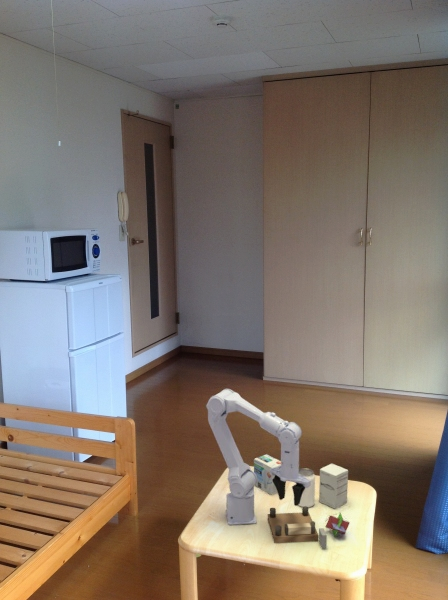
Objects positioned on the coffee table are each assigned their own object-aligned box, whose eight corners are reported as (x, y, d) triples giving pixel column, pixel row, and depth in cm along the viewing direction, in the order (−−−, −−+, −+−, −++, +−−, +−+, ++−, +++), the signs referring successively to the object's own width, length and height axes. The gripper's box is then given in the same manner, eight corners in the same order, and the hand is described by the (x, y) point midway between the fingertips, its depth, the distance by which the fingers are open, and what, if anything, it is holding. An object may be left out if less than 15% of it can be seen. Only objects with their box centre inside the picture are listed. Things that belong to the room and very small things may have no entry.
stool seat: (274, 543, 176) (274, 529, 175) (267, 519, 190) (267, 507, 189) (318, 541, 177) (318, 527, 176) (308, 517, 191) (308, 505, 190)
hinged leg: (285, 535, 176) (285, 525, 176) (284, 531, 178) (284, 521, 178) (315, 533, 177) (315, 524, 176) (314, 529, 179) (314, 520, 179)
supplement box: (318, 502, 201) (318, 468, 199) (331, 495, 206) (331, 462, 204) (335, 510, 196) (335, 475, 194) (347, 502, 200) (348, 469, 199)
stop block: (321, 549, 172) (322, 535, 172) (318, 542, 176) (319, 528, 176) (326, 549, 172) (326, 535, 172) (323, 541, 176) (323, 528, 176)
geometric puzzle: (351, 522, 184) (337, 503, 183) (356, 533, 177) (341, 514, 176) (333, 534, 184) (319, 516, 184) (337, 546, 178) (323, 527, 177)
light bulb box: (253, 485, 214) (253, 458, 213) (266, 480, 218) (266, 453, 217) (272, 495, 206) (272, 468, 204) (285, 490, 210) (285, 463, 208)
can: (314, 509, 196) (314, 476, 195) (295, 507, 198) (296, 475, 196) (315, 500, 203) (315, 468, 201) (296, 498, 204) (297, 467, 202)
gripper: (264, 459, 181) (263, 499, 183) (302, 472, 172) (301, 513, 174) (276, 452, 187) (276, 491, 189) (314, 464, 177) (313, 505, 179)
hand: (289, 501), depth 182 cm, fingers open, 5 cm apart
